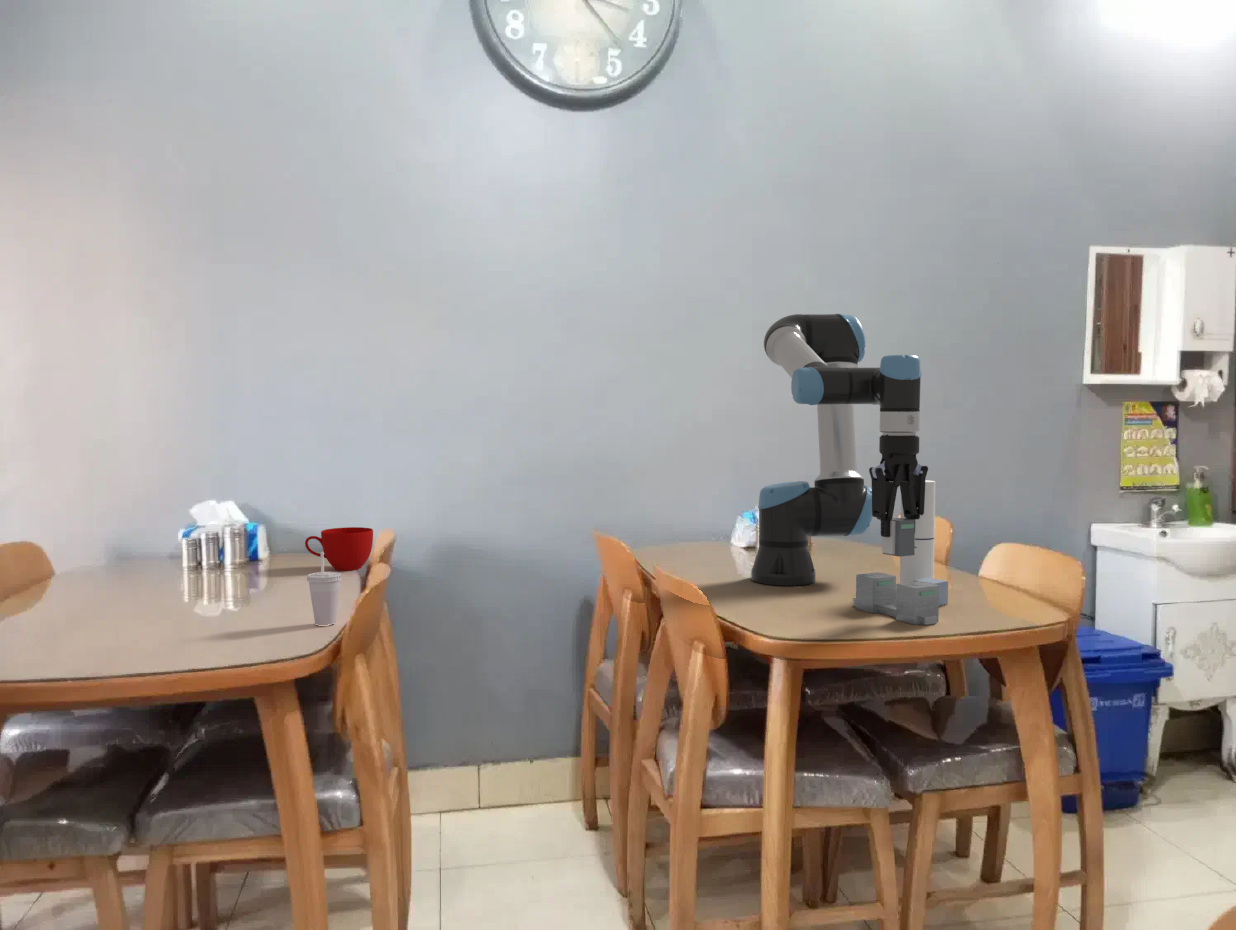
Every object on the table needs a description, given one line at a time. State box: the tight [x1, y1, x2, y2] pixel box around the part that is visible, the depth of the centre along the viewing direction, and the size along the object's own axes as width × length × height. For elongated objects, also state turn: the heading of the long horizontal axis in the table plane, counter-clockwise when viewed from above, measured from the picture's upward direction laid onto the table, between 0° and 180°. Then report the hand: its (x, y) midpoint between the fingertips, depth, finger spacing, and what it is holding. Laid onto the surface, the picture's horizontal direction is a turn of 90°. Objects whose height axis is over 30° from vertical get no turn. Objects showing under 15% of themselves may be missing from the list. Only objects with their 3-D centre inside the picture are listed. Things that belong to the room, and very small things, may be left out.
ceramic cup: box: [304, 526, 374, 572], centre depth 241 cm, size 13×17×10 cm
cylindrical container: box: [899, 479, 936, 584], centre depth 205 cm, size 7×7×25 cm
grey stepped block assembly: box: [852, 571, 940, 626], centre depth 186 cm, size 20×6×7 cm, turn 27°
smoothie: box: [306, 551, 343, 625], centre depth 179 cm, size 6×6×14 cm
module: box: [882, 517, 915, 558], centre depth 184 cm, size 5×4×7 cm
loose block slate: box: [913, 578, 949, 607], centre depth 196 cm, size 5×5×5 cm
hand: (897, 552), depth 185 cm, fingers closed on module, 4 cm apart
